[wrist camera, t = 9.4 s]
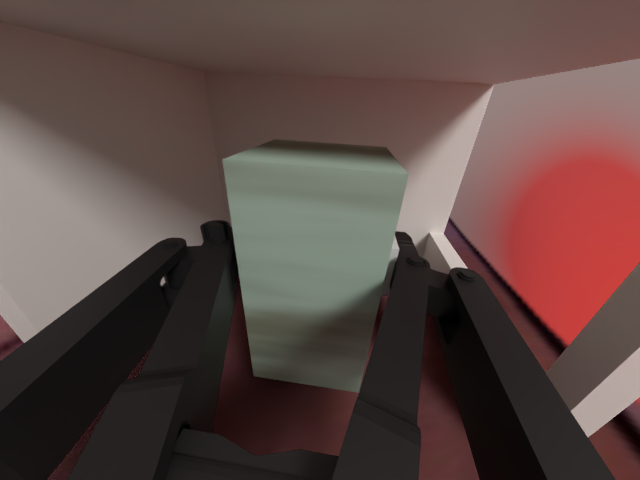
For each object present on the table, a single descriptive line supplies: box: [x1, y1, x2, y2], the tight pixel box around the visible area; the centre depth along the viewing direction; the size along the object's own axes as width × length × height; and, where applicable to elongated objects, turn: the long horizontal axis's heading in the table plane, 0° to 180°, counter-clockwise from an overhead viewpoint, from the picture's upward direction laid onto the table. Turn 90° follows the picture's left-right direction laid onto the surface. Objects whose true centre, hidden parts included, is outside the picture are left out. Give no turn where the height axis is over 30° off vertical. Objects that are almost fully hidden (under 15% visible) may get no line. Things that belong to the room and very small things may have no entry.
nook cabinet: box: [0, 0, 640, 437], centre depth 17 cm, size 20×27×20 cm
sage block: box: [222, 139, 409, 393], centre depth 13 cm, size 6×6×12 cm
